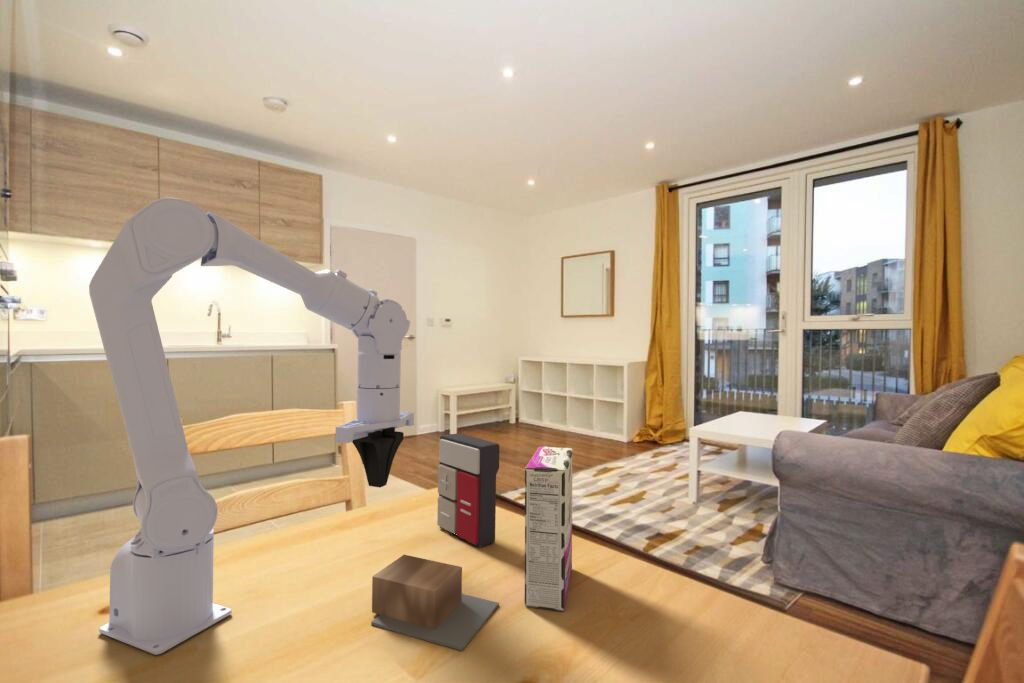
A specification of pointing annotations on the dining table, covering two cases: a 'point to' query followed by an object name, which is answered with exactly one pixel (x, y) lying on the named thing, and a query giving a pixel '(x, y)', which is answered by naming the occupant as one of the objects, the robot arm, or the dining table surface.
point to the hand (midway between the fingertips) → (377, 485)
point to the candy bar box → (548, 528)
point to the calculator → (468, 487)
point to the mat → (447, 623)
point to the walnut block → (417, 591)
